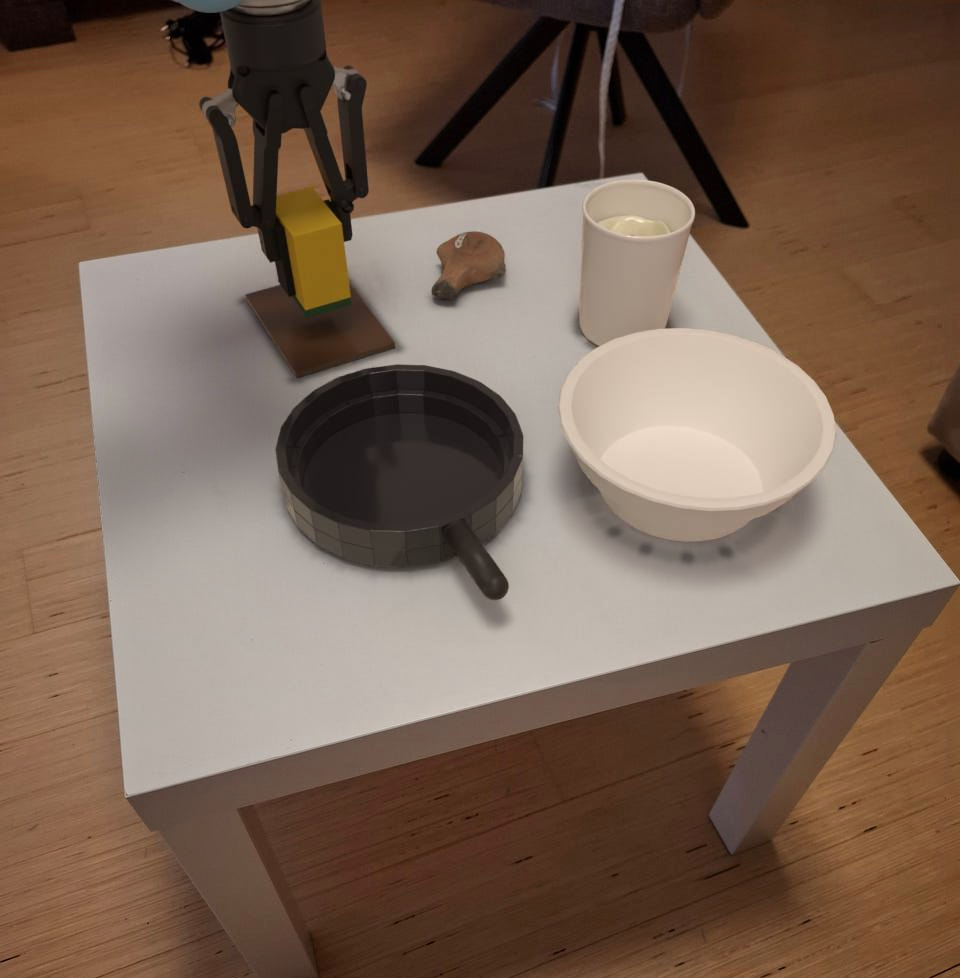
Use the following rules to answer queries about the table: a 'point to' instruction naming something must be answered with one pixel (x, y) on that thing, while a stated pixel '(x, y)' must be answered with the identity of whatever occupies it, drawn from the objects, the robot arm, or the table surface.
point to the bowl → (694, 430)
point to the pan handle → (476, 560)
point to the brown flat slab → (318, 331)
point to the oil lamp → (468, 262)
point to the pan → (399, 463)
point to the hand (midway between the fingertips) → (313, 280)
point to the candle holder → (631, 256)
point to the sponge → (314, 252)
